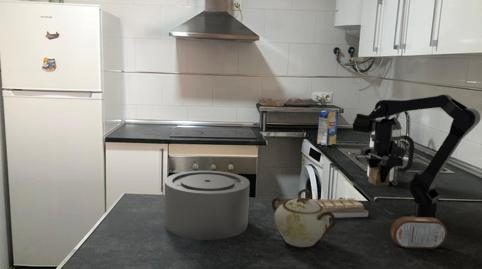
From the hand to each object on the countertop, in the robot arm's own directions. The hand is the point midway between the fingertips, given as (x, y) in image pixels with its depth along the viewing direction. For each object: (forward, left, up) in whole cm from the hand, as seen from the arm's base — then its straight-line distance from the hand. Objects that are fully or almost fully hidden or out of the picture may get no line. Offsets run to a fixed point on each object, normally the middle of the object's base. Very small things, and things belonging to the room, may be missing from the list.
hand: (378, 180), depth 147 cm
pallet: (-4, +17, -8) cm, 19 cm away
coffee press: (+34, -22, -10) cm, 42 cm away
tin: (-32, +5, -10) cm, 34 cm away
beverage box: (+117, -31, -10) cm, 122 cm away
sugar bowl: (-25, +37, -10) cm, 46 cm away
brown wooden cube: (0, 0, -1) cm, 1 cm away
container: (-9, +61, -10) cm, 63 cm away
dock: (-4, +17, -10) cm, 20 cm away
